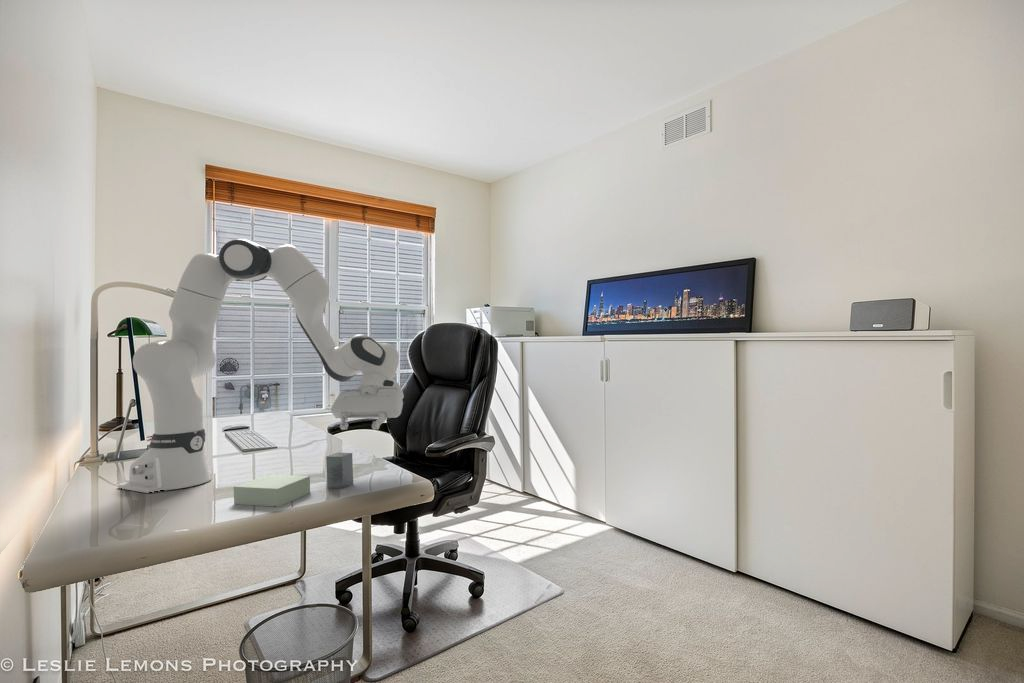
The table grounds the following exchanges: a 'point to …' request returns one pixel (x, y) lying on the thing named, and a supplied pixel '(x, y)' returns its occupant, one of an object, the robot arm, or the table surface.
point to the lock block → (339, 470)
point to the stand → (271, 490)
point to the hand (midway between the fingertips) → (358, 428)
